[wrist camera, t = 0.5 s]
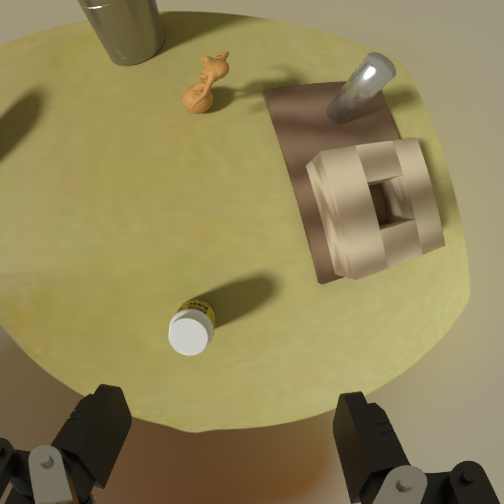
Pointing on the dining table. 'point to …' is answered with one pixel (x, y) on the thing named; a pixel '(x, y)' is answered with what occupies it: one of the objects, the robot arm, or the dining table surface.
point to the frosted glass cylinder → (361, 87)
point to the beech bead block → (362, 209)
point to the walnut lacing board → (320, 139)
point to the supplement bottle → (192, 327)
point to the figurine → (205, 84)
